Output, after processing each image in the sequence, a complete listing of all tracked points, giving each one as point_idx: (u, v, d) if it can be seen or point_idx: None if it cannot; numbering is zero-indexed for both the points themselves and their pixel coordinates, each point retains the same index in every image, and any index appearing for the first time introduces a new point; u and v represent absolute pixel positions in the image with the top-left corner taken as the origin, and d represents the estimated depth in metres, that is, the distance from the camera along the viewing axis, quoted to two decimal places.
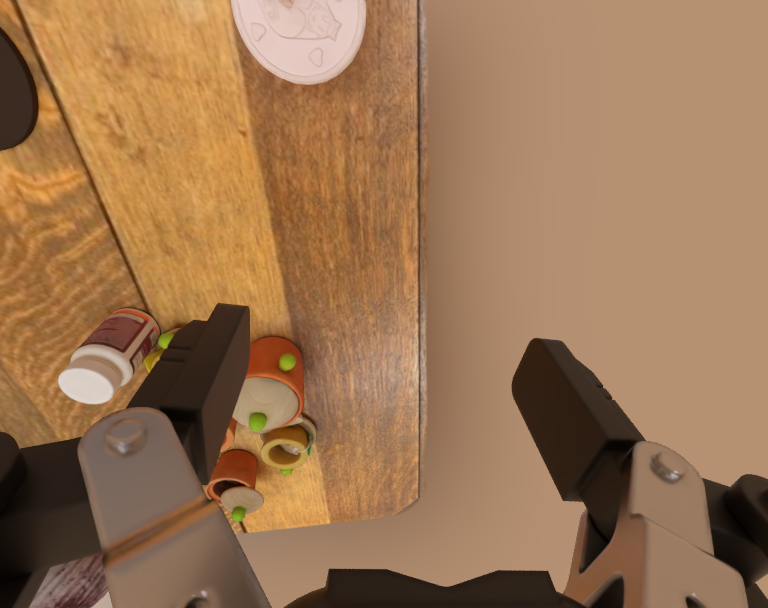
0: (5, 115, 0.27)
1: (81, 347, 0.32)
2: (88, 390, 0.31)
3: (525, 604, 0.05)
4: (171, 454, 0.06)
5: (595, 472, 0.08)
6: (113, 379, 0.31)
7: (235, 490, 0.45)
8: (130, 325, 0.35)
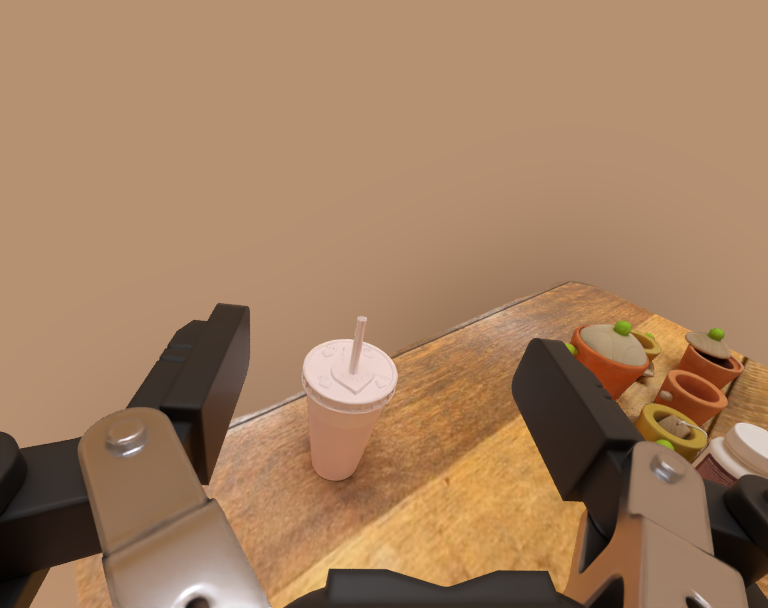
0: None
1: None
2: (766, 441, 0.29)
3: (525, 604, 0.05)
4: (171, 454, 0.06)
5: (595, 472, 0.08)
6: (730, 430, 0.30)
7: (706, 349, 0.47)
8: None
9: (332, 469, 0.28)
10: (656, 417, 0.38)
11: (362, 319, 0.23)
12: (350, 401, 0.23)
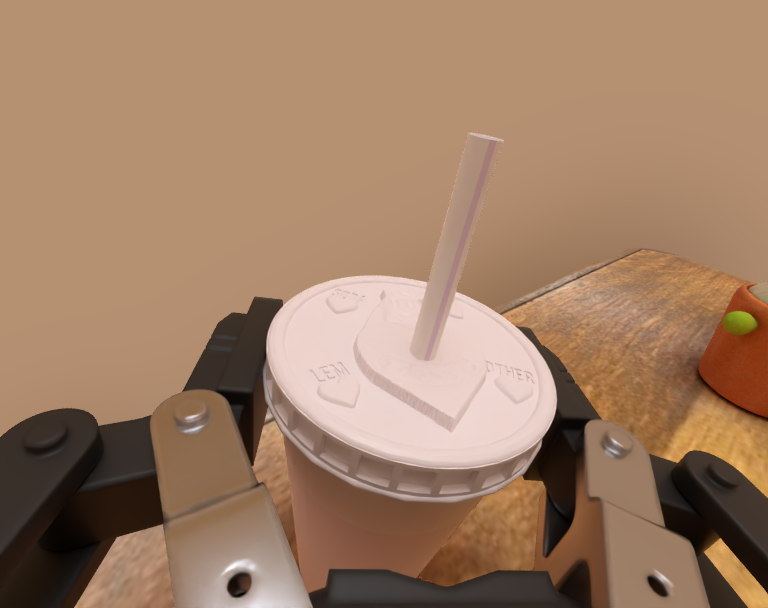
0: None
1: None
2: None
3: (525, 604, 0.05)
4: (234, 431, 0.06)
5: (552, 450, 0.09)
6: None
7: None
8: None
9: None
10: None
11: (482, 143, 0.06)
12: (438, 460, 0.06)
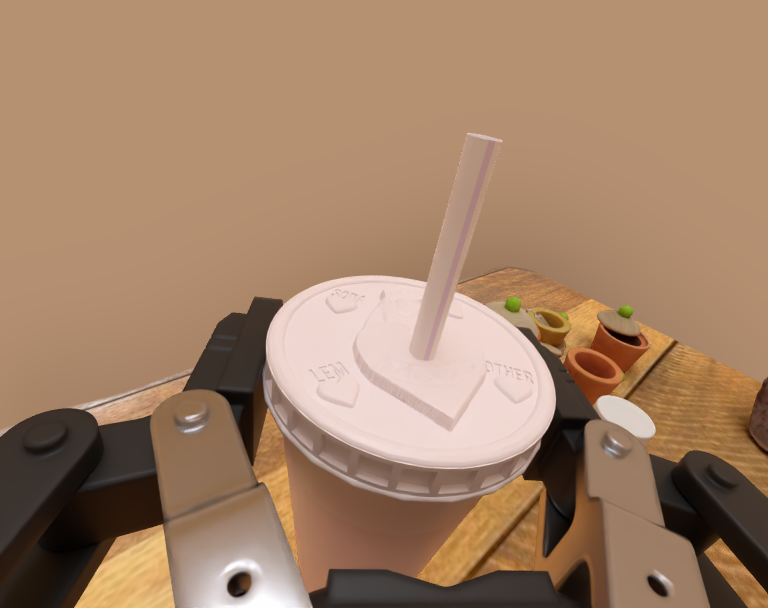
0: None
1: None
2: (627, 412, 0.28)
3: (525, 604, 0.05)
4: (233, 431, 0.06)
5: (552, 450, 0.09)
6: None
7: (614, 327, 0.46)
8: None
9: None
10: None
11: (481, 143, 0.06)
12: (437, 460, 0.06)
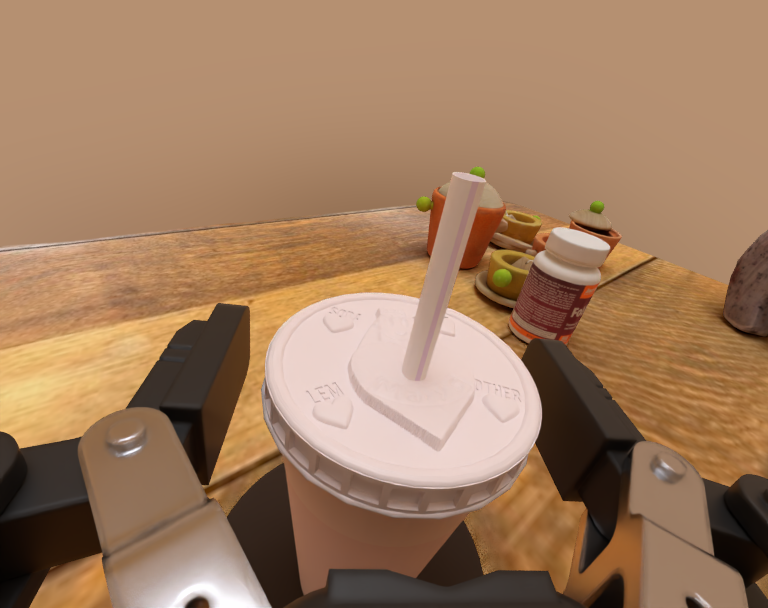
0: None
1: (564, 279, 0.26)
2: (582, 237, 0.27)
3: (525, 604, 0.05)
4: (171, 454, 0.06)
5: (595, 472, 0.08)
6: None
7: (585, 221, 0.45)
8: (520, 303, 0.30)
9: None
10: (509, 262, 0.36)
11: (466, 182, 0.06)
12: (425, 480, 0.06)
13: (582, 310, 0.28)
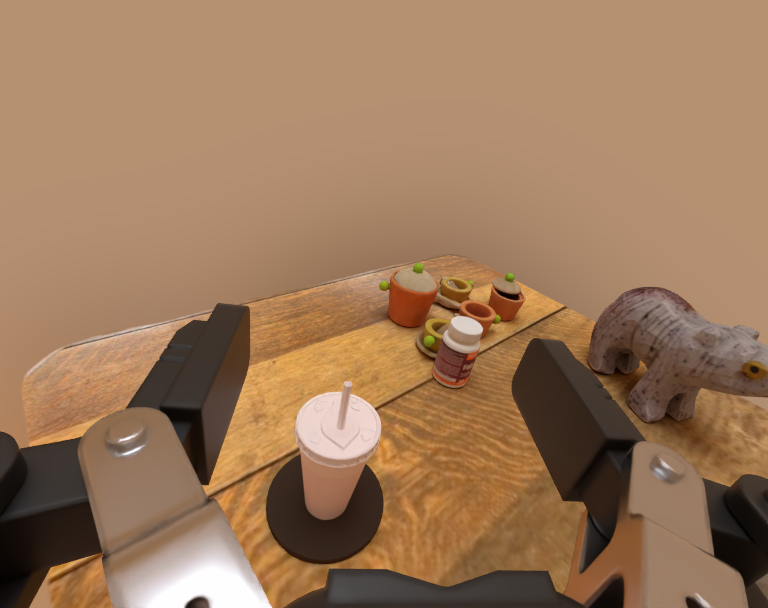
0: None
1: (455, 350, 0.46)
2: (468, 324, 0.47)
3: (525, 604, 0.05)
4: (171, 454, 0.06)
5: (595, 472, 0.08)
6: None
7: (500, 288, 0.65)
8: (436, 359, 0.49)
9: (324, 510, 0.31)
10: (438, 326, 0.56)
11: (347, 384, 0.26)
12: (337, 457, 0.26)
13: (470, 365, 0.48)
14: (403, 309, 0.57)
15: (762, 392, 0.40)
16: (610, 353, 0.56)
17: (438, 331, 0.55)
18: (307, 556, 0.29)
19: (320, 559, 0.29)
